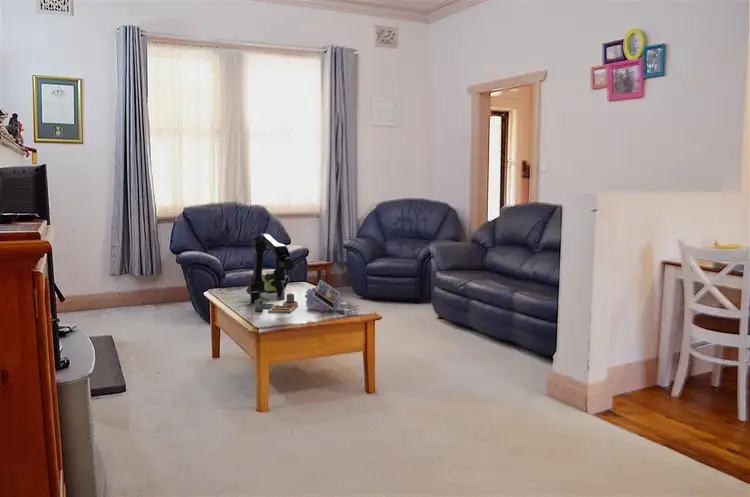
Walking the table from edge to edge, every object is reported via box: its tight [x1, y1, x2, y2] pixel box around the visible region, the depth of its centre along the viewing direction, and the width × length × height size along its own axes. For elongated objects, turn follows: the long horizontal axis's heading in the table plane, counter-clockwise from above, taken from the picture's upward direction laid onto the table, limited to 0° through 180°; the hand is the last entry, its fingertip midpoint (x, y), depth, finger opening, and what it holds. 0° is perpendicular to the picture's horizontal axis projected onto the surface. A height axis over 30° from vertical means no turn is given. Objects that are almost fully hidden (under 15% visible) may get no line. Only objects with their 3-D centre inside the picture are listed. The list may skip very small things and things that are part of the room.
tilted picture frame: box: [304, 279, 342, 313], centre depth 361 cm, size 20×22×18 cm
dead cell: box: [285, 292, 295, 303], centre depth 367 cm, size 4×4×8 cm
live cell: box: [276, 287, 286, 301], centre depth 351 cm, size 4×4×8 cm
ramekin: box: [282, 300, 299, 308], centre depth 367 cm, size 8×8×3 cm
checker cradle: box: [263, 303, 282, 311], centre depth 363 cm, size 12×10×2 cm
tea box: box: [260, 271, 277, 300], centre depth 399 cm, size 15×10×15 cm, turn 37°
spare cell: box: [254, 298, 264, 313], centre depth 352 cm, size 4×4×8 cm
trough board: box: [268, 304, 296, 314], centre depth 356 cm, size 14×12×2 cm
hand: (280, 296), depth 351 cm, fingers closed on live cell, 4 cm apart
